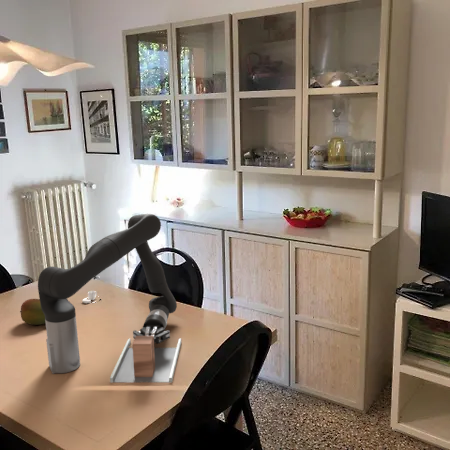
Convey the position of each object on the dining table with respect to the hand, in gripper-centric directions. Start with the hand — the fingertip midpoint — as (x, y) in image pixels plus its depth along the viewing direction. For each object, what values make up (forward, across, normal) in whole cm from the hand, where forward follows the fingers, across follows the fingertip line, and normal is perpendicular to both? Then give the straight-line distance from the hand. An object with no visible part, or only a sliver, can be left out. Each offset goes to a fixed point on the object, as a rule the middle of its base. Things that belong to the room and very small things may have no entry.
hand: (146, 346), depth 160 cm
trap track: (-2, 0, +7) cm, 7 cm away
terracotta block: (+6, 0, +6) cm, 8 cm away
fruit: (-34, -49, +7) cm, 60 cm away
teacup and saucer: (-58, -38, +8) cm, 69 cm away
